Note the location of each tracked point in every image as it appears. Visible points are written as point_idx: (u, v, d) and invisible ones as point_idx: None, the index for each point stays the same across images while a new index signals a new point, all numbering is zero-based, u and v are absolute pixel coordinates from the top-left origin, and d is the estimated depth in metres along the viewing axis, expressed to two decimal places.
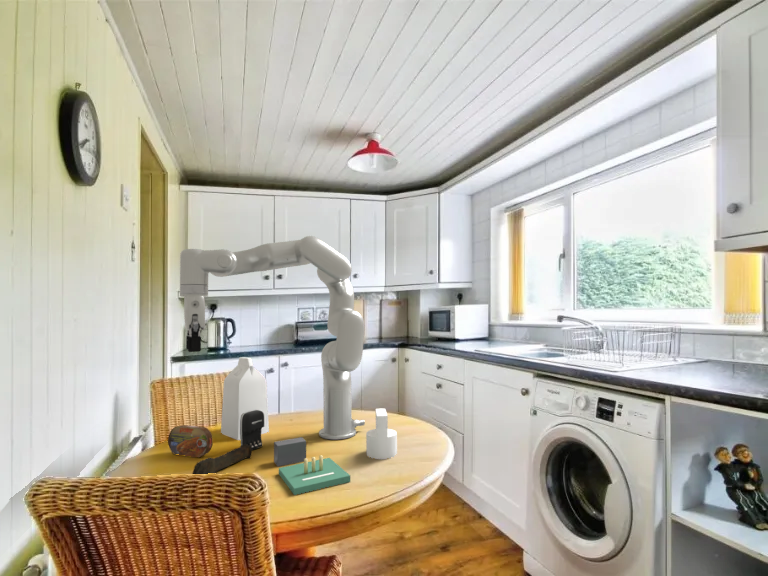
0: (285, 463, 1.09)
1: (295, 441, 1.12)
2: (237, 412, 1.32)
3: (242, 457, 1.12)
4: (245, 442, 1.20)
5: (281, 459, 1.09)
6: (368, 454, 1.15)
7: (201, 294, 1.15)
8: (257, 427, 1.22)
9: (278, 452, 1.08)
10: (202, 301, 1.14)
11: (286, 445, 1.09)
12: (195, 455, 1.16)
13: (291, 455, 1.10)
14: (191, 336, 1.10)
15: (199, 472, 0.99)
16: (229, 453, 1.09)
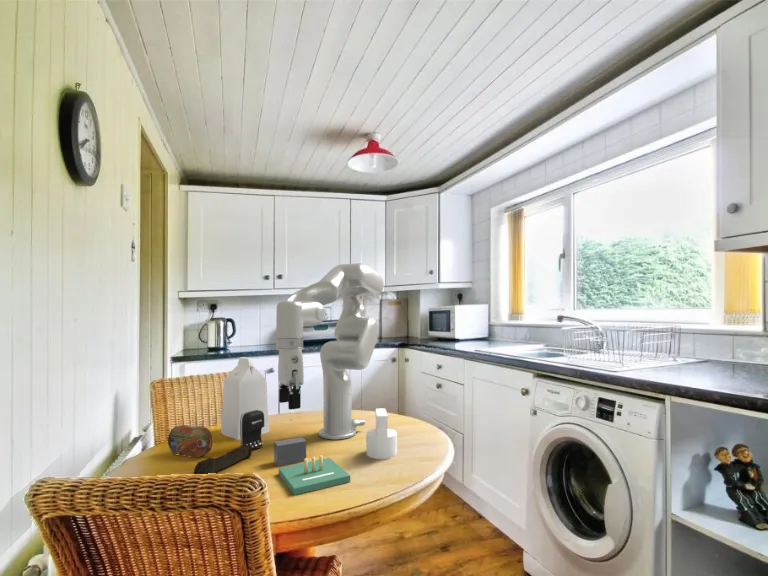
0: (285, 463, 1.09)
1: (295, 441, 1.12)
2: (237, 412, 1.32)
3: (242, 457, 1.12)
4: (245, 442, 1.20)
5: (281, 459, 1.09)
6: (368, 454, 1.15)
7: (299, 348, 1.11)
8: (257, 427, 1.22)
9: (278, 452, 1.08)
10: (301, 356, 1.10)
11: (286, 445, 1.09)
12: (195, 455, 1.16)
13: (291, 455, 1.10)
14: (292, 393, 1.07)
15: (200, 472, 0.99)
16: (229, 453, 1.09)
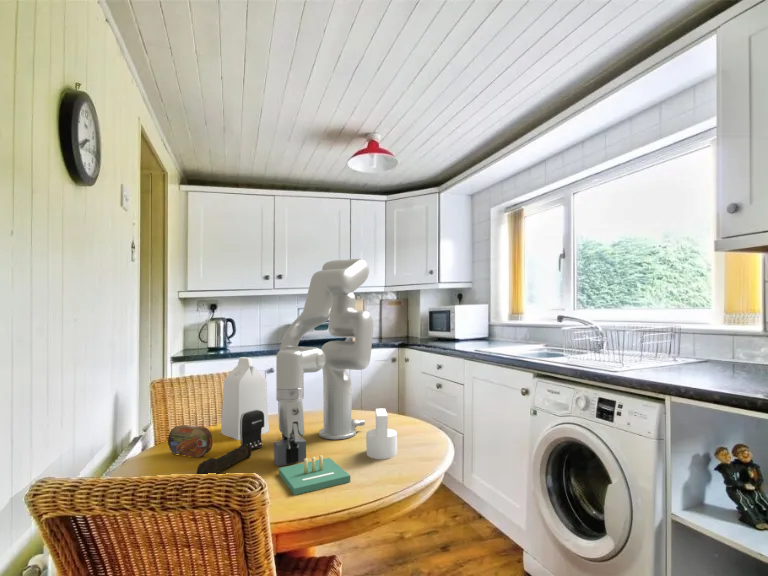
0: (285, 463, 1.09)
1: None
2: (237, 412, 1.32)
3: (242, 457, 1.12)
4: (245, 442, 1.20)
5: (281, 459, 1.09)
6: (368, 454, 1.15)
7: (299, 398, 1.11)
8: (257, 427, 1.22)
9: (278, 452, 1.08)
10: (301, 407, 1.10)
11: (286, 445, 1.09)
12: (195, 455, 1.16)
13: None
14: (290, 448, 1.08)
15: (202, 472, 0.99)
16: (230, 453, 1.09)
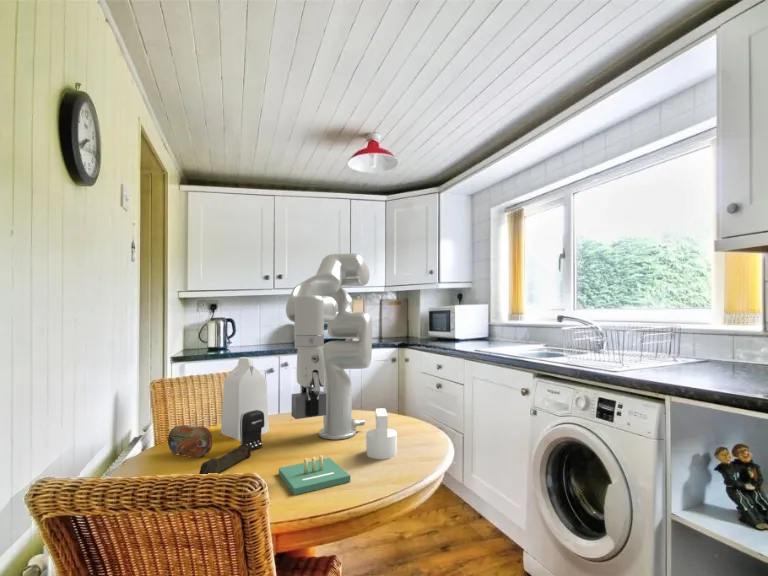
0: (304, 416, 1.00)
1: None
2: (237, 412, 1.32)
3: (242, 457, 1.12)
4: (245, 442, 1.20)
5: (299, 411, 0.99)
6: (368, 454, 1.15)
7: (319, 346, 1.02)
8: (257, 427, 1.22)
9: (296, 403, 0.99)
10: (322, 354, 1.01)
11: (305, 396, 1.00)
12: (195, 455, 1.16)
13: None
14: (310, 399, 0.99)
15: (205, 472, 0.99)
16: (230, 453, 1.09)
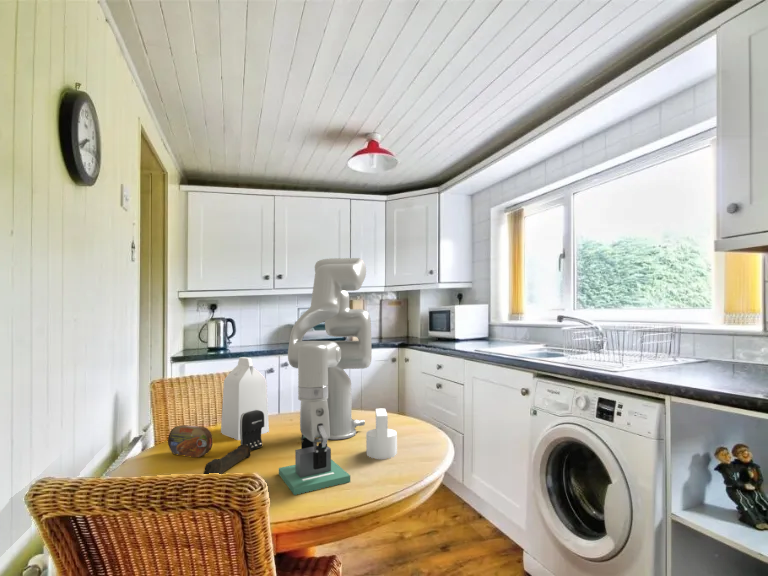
0: (308, 474, 0.98)
1: None
2: (237, 412, 1.32)
3: (243, 457, 1.12)
4: (245, 442, 1.20)
5: (304, 469, 0.98)
6: (368, 454, 1.15)
7: (324, 398, 1.00)
8: (257, 427, 1.22)
9: (300, 461, 0.97)
10: (326, 407, 0.99)
11: (309, 453, 0.98)
12: (195, 455, 1.16)
13: None
14: (317, 452, 0.95)
15: None
16: (231, 453, 1.09)
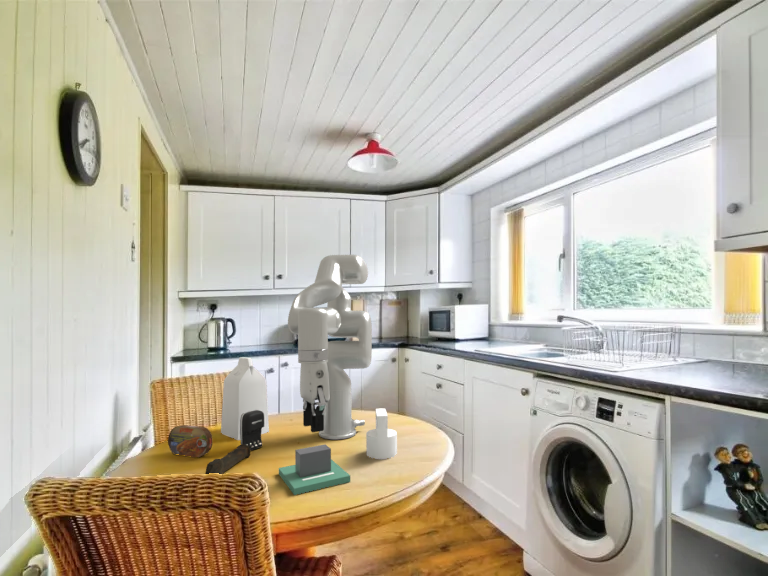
0: (308, 474, 0.98)
1: (319, 449, 1.01)
2: (237, 412, 1.32)
3: (243, 457, 1.12)
4: (245, 442, 1.20)
5: (304, 469, 0.98)
6: (368, 454, 1.15)
7: (324, 361, 1.00)
8: (257, 427, 1.22)
9: (300, 461, 0.97)
10: (326, 369, 0.99)
11: (309, 453, 0.98)
12: (195, 455, 1.16)
13: (315, 465, 0.99)
14: (315, 415, 0.97)
15: None
16: (232, 453, 1.09)
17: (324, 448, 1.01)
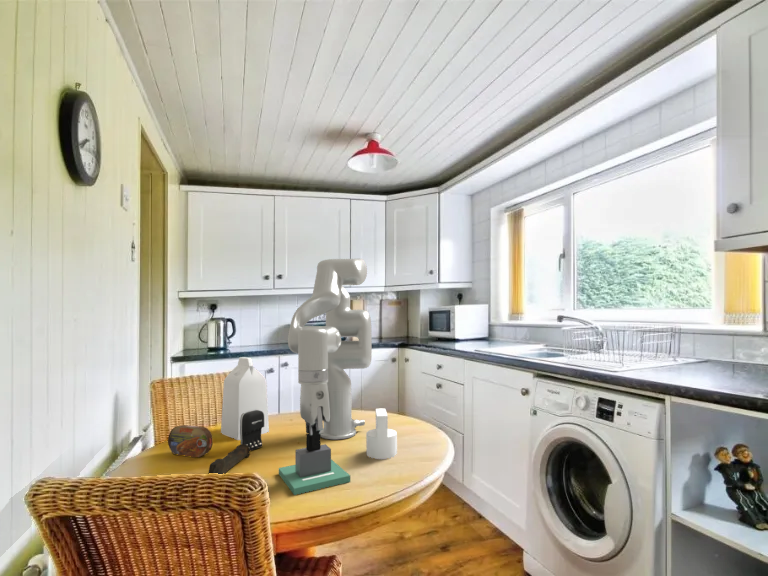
0: (308, 474, 0.98)
1: None
2: (237, 412, 1.32)
3: (243, 456, 1.12)
4: (245, 442, 1.20)
5: (304, 469, 0.97)
6: (368, 454, 1.15)
7: (324, 381, 1.00)
8: (257, 427, 1.22)
9: (301, 461, 0.97)
10: (326, 390, 0.99)
11: (309, 454, 0.98)
12: (195, 455, 1.16)
13: (315, 465, 0.99)
14: (312, 434, 0.99)
15: None
16: (232, 453, 1.09)
17: (324, 448, 1.01)
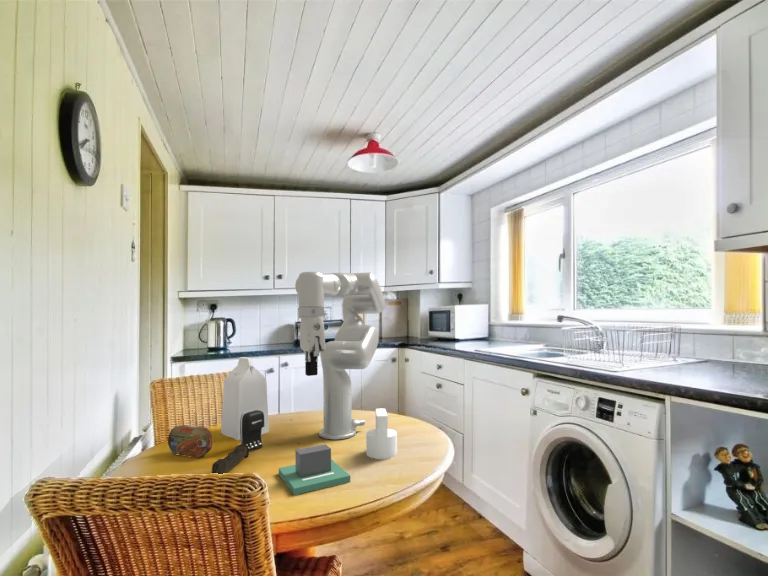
0: (308, 473, 0.98)
1: (319, 449, 1.01)
2: (237, 412, 1.32)
3: (243, 456, 1.13)
4: (245, 442, 1.20)
5: (304, 469, 0.98)
6: (368, 454, 1.15)
7: (320, 316, 1.17)
8: (257, 427, 1.22)
9: (301, 461, 0.97)
10: (322, 323, 1.16)
11: (309, 453, 0.98)
12: (195, 455, 1.16)
13: (315, 465, 0.99)
14: (310, 361, 1.17)
15: None
16: (233, 453, 1.09)
17: (324, 448, 1.01)
